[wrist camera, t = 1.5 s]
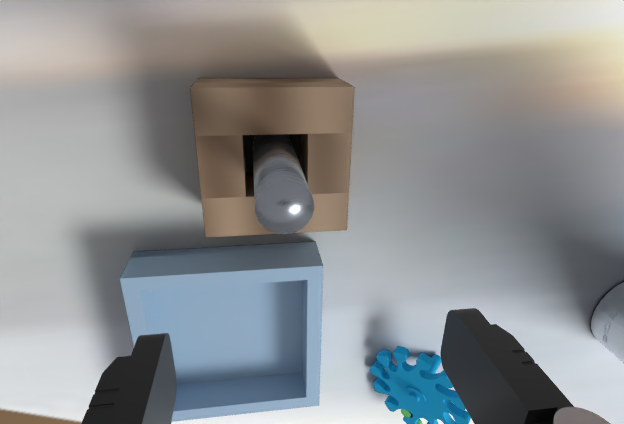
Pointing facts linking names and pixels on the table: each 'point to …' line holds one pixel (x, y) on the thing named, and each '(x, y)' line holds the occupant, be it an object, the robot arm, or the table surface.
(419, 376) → the gear
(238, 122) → the pin block
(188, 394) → the tray
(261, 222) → the peg
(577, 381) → the table surface
